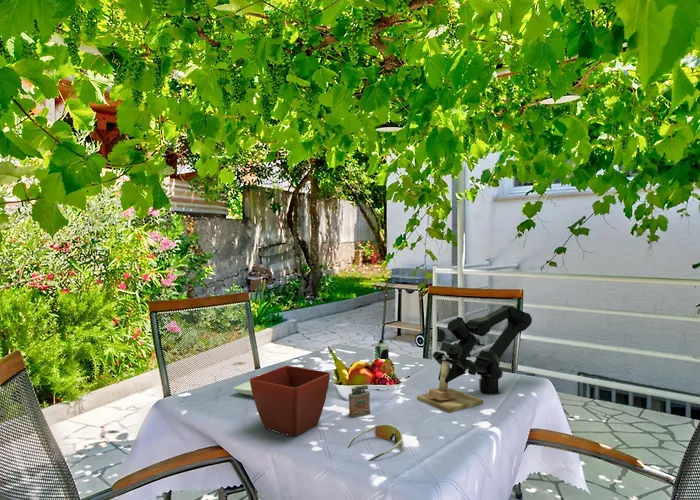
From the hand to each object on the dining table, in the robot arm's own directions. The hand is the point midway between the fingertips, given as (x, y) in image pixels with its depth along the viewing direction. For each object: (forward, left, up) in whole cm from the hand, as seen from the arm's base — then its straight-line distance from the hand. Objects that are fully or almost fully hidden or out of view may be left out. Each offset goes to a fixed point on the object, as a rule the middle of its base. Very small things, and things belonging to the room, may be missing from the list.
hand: (442, 381), depth 177 cm
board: (-3, -2, -8) cm, 9 cm away
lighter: (+30, +12, -8) cm, 33 cm away
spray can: (+22, -18, -8) cm, 30 cm away
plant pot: (+52, +23, -8) cm, 57 cm away
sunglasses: (+24, +38, -9) cm, 46 cm away
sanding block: (0, 0, -6) cm, 6 cm away
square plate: (+63, -14, -9) cm, 65 cm away
